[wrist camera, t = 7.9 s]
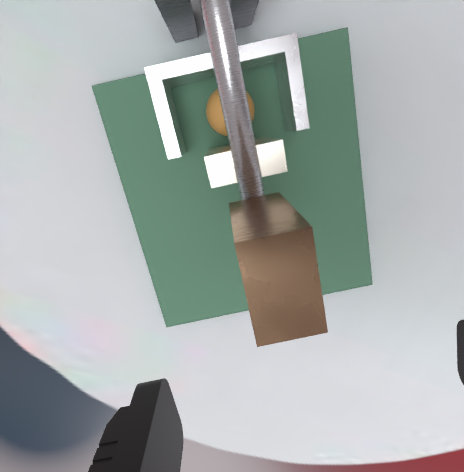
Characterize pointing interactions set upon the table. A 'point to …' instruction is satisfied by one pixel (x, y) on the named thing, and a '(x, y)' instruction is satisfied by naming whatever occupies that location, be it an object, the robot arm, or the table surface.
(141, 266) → the table surface
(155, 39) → the table surface
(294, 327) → the rod
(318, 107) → the pitch
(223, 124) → the ball
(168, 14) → the rod support
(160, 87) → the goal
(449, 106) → the table surface
